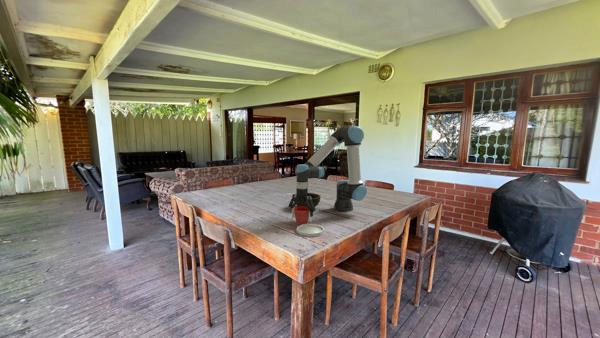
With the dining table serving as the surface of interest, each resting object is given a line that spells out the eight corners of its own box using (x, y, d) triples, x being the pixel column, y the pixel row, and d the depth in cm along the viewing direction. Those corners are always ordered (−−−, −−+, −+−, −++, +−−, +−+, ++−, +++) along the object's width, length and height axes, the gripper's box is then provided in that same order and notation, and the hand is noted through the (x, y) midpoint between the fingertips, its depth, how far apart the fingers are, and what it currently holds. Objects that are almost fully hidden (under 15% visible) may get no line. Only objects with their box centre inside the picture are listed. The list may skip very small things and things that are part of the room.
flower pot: (295, 226, 168) (295, 211, 166) (292, 220, 178) (292, 206, 177) (311, 224, 170) (311, 210, 168) (307, 219, 180) (307, 205, 179)
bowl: (288, 206, 213) (288, 194, 212) (312, 203, 223) (312, 191, 221) (300, 213, 194) (300, 200, 193) (325, 210, 203) (325, 197, 202)
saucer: (306, 224, 170) (306, 222, 170) (329, 230, 161) (329, 227, 160) (291, 232, 156) (291, 229, 156) (315, 238, 147) (315, 235, 147)
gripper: (283, 186, 175) (283, 217, 177) (315, 191, 161) (314, 224, 163) (290, 184, 181) (289, 214, 184) (321, 189, 167) (320, 221, 170)
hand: (301, 219), depth 174 cm, fingers open, 13 cm apart
